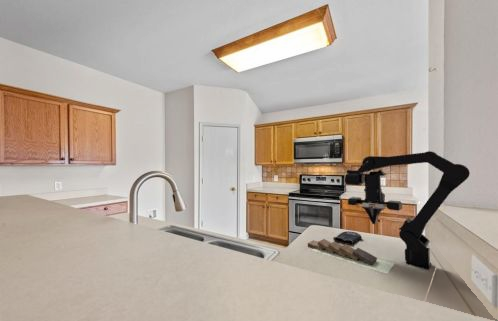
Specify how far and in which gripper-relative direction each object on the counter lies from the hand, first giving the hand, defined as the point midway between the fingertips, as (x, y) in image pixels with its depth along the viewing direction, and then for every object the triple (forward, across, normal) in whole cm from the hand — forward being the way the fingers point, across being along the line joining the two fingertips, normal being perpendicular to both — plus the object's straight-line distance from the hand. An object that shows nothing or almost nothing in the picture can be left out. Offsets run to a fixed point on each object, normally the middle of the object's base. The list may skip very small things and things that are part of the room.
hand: (374, 224), depth 86 cm
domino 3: (+11, +7, +11) cm, 17 cm away
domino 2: (+11, +11, +11) cm, 19 cm away
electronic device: (+13, +14, -8) cm, 20 cm away
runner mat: (+12, +6, +11) cm, 17 cm away
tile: (+11, -3, +11) cm, 16 cm away
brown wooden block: (+11, +2, +11) cm, 16 cm away
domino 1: (+11, +16, +11) cm, 22 cm away
